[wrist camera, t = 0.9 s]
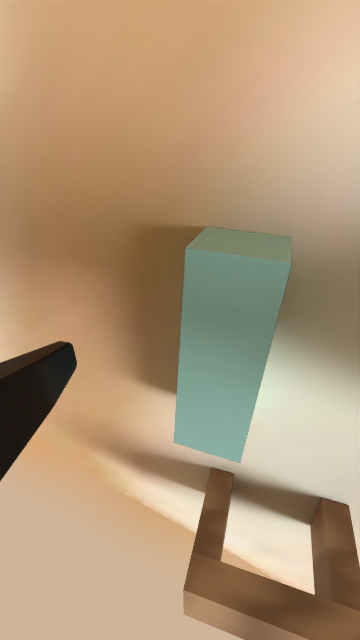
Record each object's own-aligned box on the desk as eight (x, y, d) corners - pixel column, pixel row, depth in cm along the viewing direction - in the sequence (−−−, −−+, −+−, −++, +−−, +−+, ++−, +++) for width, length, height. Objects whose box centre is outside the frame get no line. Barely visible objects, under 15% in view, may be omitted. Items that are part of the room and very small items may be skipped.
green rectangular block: (290, 235, 14) (291, 263, 11) (247, 411, 20) (240, 462, 17) (207, 225, 15) (185, 247, 11) (191, 396, 21) (173, 442, 18)
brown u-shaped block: (348, 505, 21) (377, 666, 15) (334, 533, 23) (354, 685, 17) (211, 467, 24) (183, 590, 17) (209, 495, 26) (183, 614, 19)
